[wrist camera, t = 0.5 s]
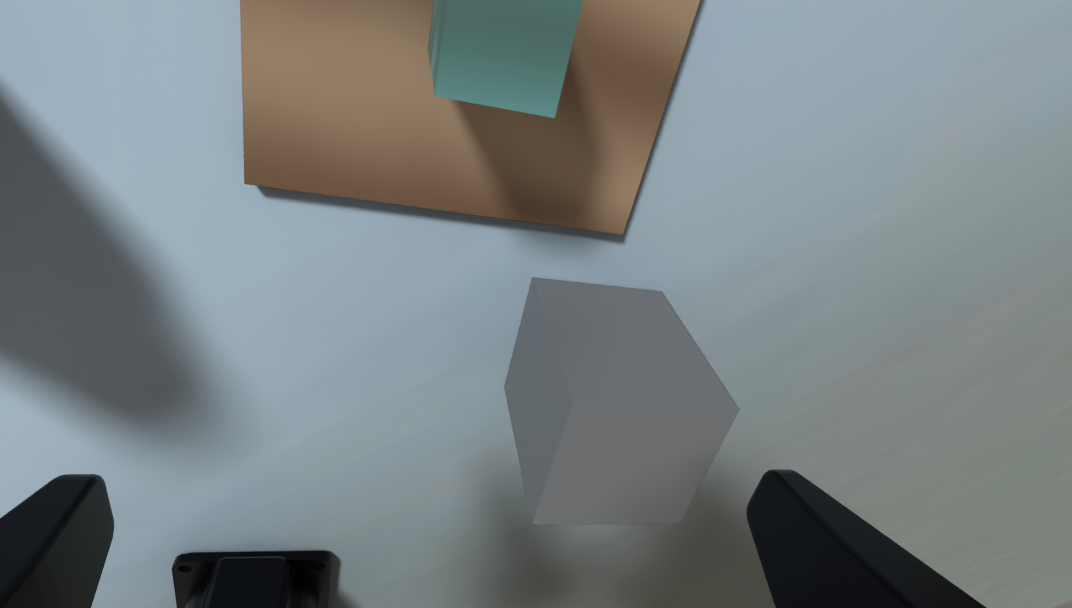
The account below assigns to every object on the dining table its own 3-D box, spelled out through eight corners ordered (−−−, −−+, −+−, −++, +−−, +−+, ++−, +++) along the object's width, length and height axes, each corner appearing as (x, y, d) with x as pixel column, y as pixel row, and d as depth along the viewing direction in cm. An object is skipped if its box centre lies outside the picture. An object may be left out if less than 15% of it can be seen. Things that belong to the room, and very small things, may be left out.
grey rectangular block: (622, 394, 26) (679, 523, 20) (504, 387, 24) (531, 524, 19) (662, 291, 23) (739, 409, 18) (532, 277, 22) (573, 400, 16)
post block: (618, 227, 21) (675, 315, 17) (248, 176, 18) (195, 268, 14) (755, -200, 15) (905, -244, 11) (237, -389, 12) (133, -570, 7)
